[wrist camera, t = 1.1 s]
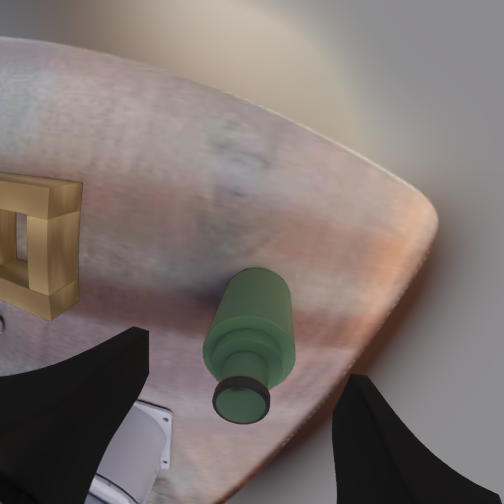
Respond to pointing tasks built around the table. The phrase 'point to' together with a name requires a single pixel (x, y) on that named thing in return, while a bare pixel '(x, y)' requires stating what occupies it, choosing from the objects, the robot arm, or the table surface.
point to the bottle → (250, 345)
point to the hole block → (40, 244)
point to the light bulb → (1, 326)
